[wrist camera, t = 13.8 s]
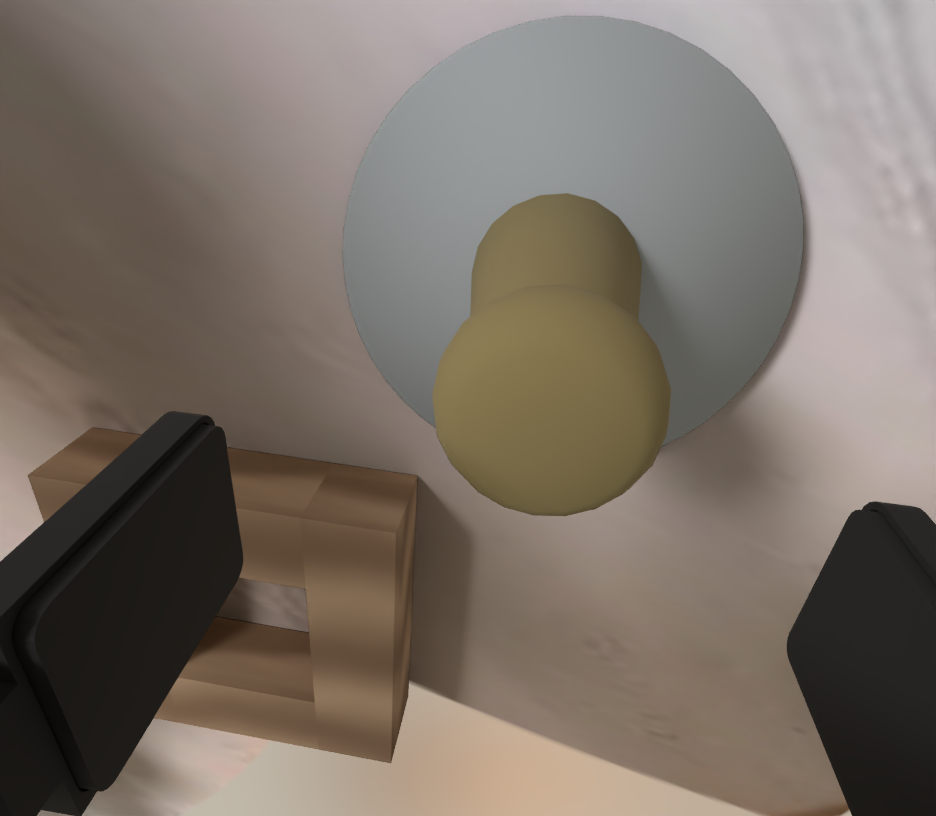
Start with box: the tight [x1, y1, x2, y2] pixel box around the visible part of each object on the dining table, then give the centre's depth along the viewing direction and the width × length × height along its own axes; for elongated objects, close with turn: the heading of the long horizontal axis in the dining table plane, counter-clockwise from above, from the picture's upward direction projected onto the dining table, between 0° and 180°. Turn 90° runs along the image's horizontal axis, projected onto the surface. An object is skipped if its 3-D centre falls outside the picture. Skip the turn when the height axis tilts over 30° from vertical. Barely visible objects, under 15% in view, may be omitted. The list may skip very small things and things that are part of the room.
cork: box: [432, 193, 671, 516], centre depth 17 cm, size 6×6×11 cm
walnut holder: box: [28, 428, 417, 763], centre depth 30 cm, size 16×16×4 cm
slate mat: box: [343, 16, 803, 447], centre depth 22 cm, size 16×16×1 cm
